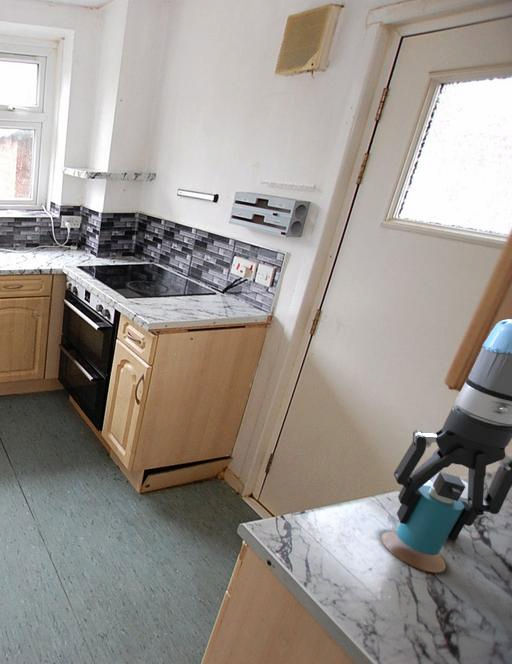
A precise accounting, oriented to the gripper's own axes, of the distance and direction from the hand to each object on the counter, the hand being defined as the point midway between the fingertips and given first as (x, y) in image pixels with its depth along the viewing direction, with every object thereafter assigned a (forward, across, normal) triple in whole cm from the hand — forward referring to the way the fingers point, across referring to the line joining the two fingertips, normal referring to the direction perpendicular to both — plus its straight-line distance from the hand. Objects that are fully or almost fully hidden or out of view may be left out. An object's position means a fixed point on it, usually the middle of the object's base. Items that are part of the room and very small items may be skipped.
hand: (424, 526), depth 81 cm
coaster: (+6, 0, 0) cm, 6 cm away
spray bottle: (+3, 0, 0) cm, 3 cm away
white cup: (+6, +5, +11) cm, 13 cm away
